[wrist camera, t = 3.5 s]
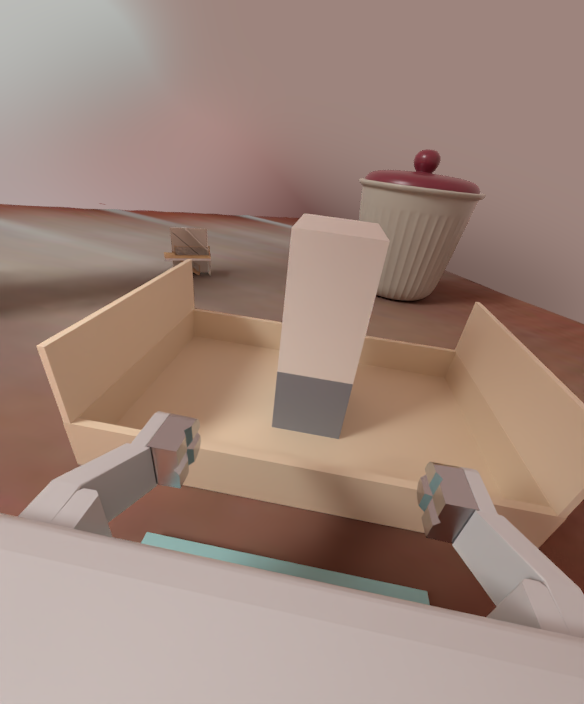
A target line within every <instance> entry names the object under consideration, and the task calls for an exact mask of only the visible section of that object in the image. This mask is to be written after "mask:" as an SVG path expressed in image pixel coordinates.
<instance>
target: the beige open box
mask: <svg viewBox="0 0 584 704" xmlns="http://www.w3.org/2000/svg"><path fill="white" fill-rule="evenodd" d="M281 330H282V322H278V321H271V320H265V319H259V318H253V317H246V316H240V315H234V314H228V313H221V312H215V311H209V310H203V309H196V308H195V307H194V289H193V272H192V259H187V260H185V261H183V262H182V263H180V264H178V265H176V266H175V267H173V268H171V269H169V270H168V271H166V272H164V273H162V274H161V275H159V276H157V277H155V278H154V279H152V280H150V281H148V282H147V283H145V284H143V285H141V286H140V287H138V288H136V289H134V290H133V291H131V292H129V293H127V294H126V295H124V296H122V297H121V298H119V299H117V300H115V301H114V302H112V303H110V304H108V305H107V306H105V307H103V308H101V309H100V310H98V311H96V312H94V313H93V314H91V315H89V316H87V317H86V318H84V319H82V320H80V321H79V322H77V323H75V324H73V325H72V326H70V327H68V328H66V329H65V330H63V331H61V332H60V333H58V334H56V335H54V336H53V337H51V338H49V339H47V340H46V341H44V342H42V343H40V344H39V345H37V349H38V352H39V355H40V358H41V360H42V363H43V366H44V369H45V372H46V374H47V377H48V380H49V383H50V386H51V388H52V391H53V394H54V397H55V400H56V402H57V405H58V408H59V411H60V413H61V416H62V419H63V424H64V427H65V430H66V432H67V435H68V438H69V441H70V444H71V446H72V449H73V452H74V455H75V457H76V460H77V463H78V464H80V465H84V464H86V463H88V462H90V461H92V460H94V459H96V458H98V457H100V456H102V455H104V454H106V453H108V452H110V451H112V450H114V449H116V448H118V447H120V446H122V445H124V444H126V443H129V444H131V443H132V441H133V440H134V439H135V438H136V436H137V435H138V434H139V432H140V431H141V430H142V429H143V427H144V426H145V425H146V423H147V422H148V421H149V420H150V418H151V417H152V416H153V415H154V413H156V412H158V411H161V412H165V413H170V414H176V415H181V416H186V417H190V418H195V419H198V420H199V421H200V428H199V430H198V433H199V435H200V436H201V444H200V449H199V452H198V455H197V458H196V460H195V462H193V463H192V464H190V465H189V473H188V475H187V477H186V479H185V481H184V483H183V485H186V486H191V487H196V488H201V489H206V490H211V491H216V492H221V493H226V494H231V495H236V496H241V497H246V498H251V499H256V500H261V501H266V502H271V503H276V504H281V505H286V506H291V507H296V508H301V509H306V510H311V511H316V512H321V513H326V514H331V515H336V516H341V517H346V518H351V519H356V520H361V521H366V522H371V523H376V524H381V525H386V526H391V527H396V528H401V529H406V530H411V531H416V532H421V533H425V532H424V527H423V523H422V519H421V518H422V516H423V514H424V511H423V510H422V509H421V508H420V507H419V505H418V500H417V486H418V482H419V480H420V478H421V477H422V476H424V475H426V472H425V467H426V465H427V464H428V463H429V462H435V463H441V464H447V465H452V466H458V467H464V468H469V469H475V470H477V471H478V472H479V474H480V476H481V478H482V480H483V483H484V485H485V487H486V489H487V491H488V494H489V496H490V498H491V500H492V502H493V505H494V507H495V509H496V511H497V513H498V515H502V516H504V517H505V518H506V519H507V520H508V521H509V522H510V523H511V524H512V525H513V526H514V527H515V528H517V529H518V530H519V531H520V532H521V533H522V534H523V535H524V536H525V537H526V538H527V539H528V540H529V541H530V542H531V543H532V544H534V545H535V546H536V547H537V548H539V547H540V546H541V545H542V544H543V543H544V542H545V541H546V540H547V539H548V538H549V537H550V536H551V534H552V533H553V532H554V531H555V530H556V529H557V528H558V527H559V526H560V525H561V524H562V523H563V522H564V521H565V520H566V519H567V518H566V517H567V516H568V515H569V514H570V513H571V512H572V511H573V510H574V509H575V508H576V507H577V506H578V505H579V504H580V503H581V502H582V500H583V499H584V403H583V402H582V401H581V400H580V399H579V398H578V397H577V396H576V395H575V394H573V393H572V392H571V391H570V390H569V389H568V388H567V387H566V386H565V385H564V384H563V383H562V382H561V381H560V380H559V379H558V378H557V377H556V376H555V375H554V374H553V373H552V372H551V371H550V370H549V369H548V368H547V367H546V366H545V365H544V364H543V363H542V362H541V361H540V360H539V359H538V358H537V357H536V356H535V355H533V354H532V353H531V352H530V351H529V350H528V349H527V348H526V347H525V346H524V345H523V344H522V343H521V342H520V341H519V340H518V339H517V338H516V337H515V336H514V335H513V334H512V333H511V332H510V331H509V330H508V329H507V328H506V327H505V326H504V325H503V324H502V323H501V322H500V321H499V320H498V319H497V318H496V317H495V316H494V315H492V314H491V313H490V312H489V311H488V310H487V309H486V308H485V307H484V306H483V305H482V304H481V303H480V302H475V304H474V307H473V309H472V311H471V314H470V316H469V318H468V321H467V323H466V325H465V328H464V330H463V332H462V334H461V337H460V339H459V341H458V344H457V346H456V348H455V350H453V349H447V348H440V347H434V346H428V345H422V344H415V343H409V342H403V341H396V340H390V339H384V338H378V337H371V336H365V340H364V344H363V347H362V351H361V355H360V359H359V363H358V367H357V371H356V375H355V379H354V382H353V386H352V390H351V394H350V398H349V402H348V406H347V410H346V414H345V417H344V421H343V425H342V429H341V433H340V437H339V439H335V438H329V437H324V436H318V435H313V434H307V433H302V432H297V431H291V430H286V429H280V428H275V427H272V419H273V409H274V399H275V390H276V380H277V370H278V360H279V350H280V340H281Z"/></svg>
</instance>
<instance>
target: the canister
mask: <svg viewBox="0 0 584 704" xmlns="http://www.w3.org/2000/svg"><path fill="white" fill-rule="evenodd" d="M439 163H440V155H439V153H438V152H437V151H434V150H422V151H420V152H419V153H418V154H417V155H416V157H415V159H414V167H415V169H416V172H412V171H399V170H378V171H373V172H371V173H369V174H368V175H367V176H366V178H361V179H360V180H359V181H360V183H361V184H362V185H363V187H362V197H361V206H360V216H359V221H364V222H371V223H378V224H379V225H380V227H381V228H382V230H383V231H384V233H385V234H386V236H387V237H388V239H389V241H390V242H389V246H388V250H387V254H386V258H385V262H384V266H383V270H382V274H381V277H380V281H379V285H378V289H377V293H376V295H378V296H381V297H385V298H389V299H395V300H402V301H404V300H405V301H414V300H419V299H423V298H425V297H427V296H428V295H429V294H430V293H431V292H432V291H433V290H434V289H435V287H436V286H437V284H438V282H439V280H440V278H441V276H442V274H443V272H444V270H445V269H446V266H447V265H448V263H449V261H450V258H451V257H452V255H453V253H454V251H455V249H456V246H457V244H458V242H459V240H460V238H461V236H462V234H463V232H464V230H465V228H466V226H467V224H468V222H469V220H470V217H471V215H472V213H473V211H474V209H475V207H476V205H477V203H478V201H479V200H482V199H484V198H485V195H484V194H480V190H479V188H478V186H477V185H476V184H474V183H472V182H470V181H466V180H462V179H459V178H454V177H449V176H443V175H436V174H432V172H433V171H435V169H436V168H437V167H438V165H439Z"/></svg>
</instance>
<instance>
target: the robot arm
mask: <svg viewBox="0 0 584 704" xmlns="http://www.w3.org/2000/svg"><path fill="white" fill-rule="evenodd" d="M199 428H200V421H199V420H198V419H195V418H190V417H186V416H181V415H176V414H170V413H165V412H161V411H158V412H156V413H154V415H153V416H152V417H151V418H150V420H149V421H148V422H147V423H146V425H145V426H144V427H143V429H142V430H141V431H140V432H139V434H138V435H137V436H136V438H135V439H134V440H133V441H132V443H131V444H129V443H126V444H124V445H122V446H120V447H118V448H116V449H114V450H112V451H110V452H108V453H106V454H104V455H102V456H100V457H98V458H96V459H94V460H92V461H90V462H88V463H86V464H84V465H82V466H80V467H78V468H75V469H73V470H71V471H69V472H67V473H65V474H63V475H61V476H59V477H57V478H55V479H53V480H52V481H51V482H50V483H49V484H48V485H47V486H46V487H45V488H44V489H43V490H42V491H41V493H40V494H39V495H38V496H37V497H36V498H35V499H34V500H33V501H32V502H31V503H30V504H29V505H28V506H27V507H26V508H25V509H24V511H23V512H22V513H21V514H20V515H19V516H18V517H17V516H12V515H7V514H3V513H0V704H584V594H583V592H582V591H581V589H580V588H579V587H578V586H577V585H576V584H575V583H574V582H573V581H572V580H571V579H570V578H569V577H567V576H566V575H565V574H564V573H563V572H562V571H561V570H560V569H559V568H558V567H557V566H556V565H555V564H554V563H553V562H552V561H550V560H549V559H548V558H547V557H546V556H545V555H544V554H543V553H542V552H541V551H540V550H539V549H538V548H537V547H536V546H535V545H534V544H532V543H531V542H530V541H529V540H528V539H527V538H526V537H525V536H524V535H523V534H522V533H521V532H520V531H519V530H518V529H517V528H515V527H514V526H513V525H512V524H511V523H510V522H509V521H508V520H507V519H506V518H505V517H504V516H502V515H498V513H497V511H496V509H495V507H494V505H493V502H492V500H491V498H490V496H489V494H488V491H487V489H486V487H485V485H484V483H483V480H482V478H481V476H480V474H479V472H478V471H477V470H475V469H469V468H464V467H458V466H452V465H447V464H441V463H435V462H429V463H428V464H427V465H426V467H425V472H426V475H424V476H422V477H421V478H420V480H419V482H418V486H417V500H418V505H419V507H420V508H421V509H422V510H423V511H424V514H423V516H422V518H421V519H422V523H423V527H424V532H425V536H426V538H430V539H434V540H439V541H443V542H447V543H452V545H453V547H454V548H455V550H456V551H457V552H458V554H459V555H460V557H461V558H462V559H463V561H464V562H465V564H466V565H467V566H468V568H469V569H470V570H471V572H472V573H473V575H474V576H475V577H476V579H477V580H478V582H479V583H480V584H481V586H482V587H483V589H484V590H485V591H486V593H487V594H488V595H489V597H490V598H491V600H492V601H493V602H494V604H495V605H496V608H495V609H494V610H493V611H492V612H491V613H490V614H489V615H488V616H487V617H482V616H478V615H473V614H468V613H464V612H459V611H454V610H450V609H445V608H440V607H436V606H431V605H426V604H422V603H417V602H412V601H408V600H403V599H398V598H394V597H389V596H384V595H380V594H375V593H371V592H366V591H361V590H357V589H352V588H347V587H343V586H338V585H333V584H329V583H324V582H319V581H315V580H310V579H305V578H301V577H296V576H291V575H287V574H282V573H277V572H273V571H268V570H263V569H259V568H254V567H249V566H244V565H240V564H235V563H230V562H226V561H221V560H217V559H212V558H207V557H203V556H198V555H193V554H189V553H184V552H179V551H175V550H170V549H165V548H161V547H156V546H151V545H147V544H142V543H137V542H133V541H128V540H123V539H119V538H114V537H112V534H111V531H110V528H109V525H108V522H110V521H111V520H112V519H114V518H115V517H116V516H118V515H119V514H120V513H122V512H123V511H124V510H125V509H127V508H128V507H129V506H131V505H132V504H133V503H135V502H136V501H137V500H139V499H140V498H141V497H143V496H144V495H145V494H147V493H148V492H149V491H150V490H152V489H153V488H154V487H156V486H157V484H158V485H164V486H170V487H176V488H181V487H182V485H183V483H184V481H185V479H186V477H187V475H188V473H189V465H190V464H192V463H193V462H195V460H196V458H197V455H198V452H199V449H200V444H201V436H200V435H199V433H198V430H199Z"/></svg>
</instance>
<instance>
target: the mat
mask: <svg viewBox="0 0 584 704" xmlns="http://www.w3.org/2000/svg"><path fill="white" fill-rule="evenodd" d="M141 543H142V544H147V545H151V546H156V547H161V548H165V549H170V550H175V551H179V552H184V553H189V554H193V555H198V556H203V557H207V558H212V559H217V560H221V561H226V562H230V563H235V564H240V565H244V566H249V567H254V568H259V569H263V570H268V571H273V572H277V573H282V574H287V575H291V576H296V577H301V578H305V579H310V580H315V581H319V582H324V583H329V584H333V585H338V586H343V587H347V588H352V589H357V590H361V591H366V592H371V593H375V594H380V595H384V596H389V597H394V598H398V599H403V600H408V601H412V602H417V603H422V604H426V605H430V604H429V599H428V593H427V591H424V590H419V589H414V588H409V587H405V586H400V585H395V584H391V583H386V582H381V581H376V580H372V579H367V578H362V577H357V576H353V575H348V574H343V573H338V572H334V571H329V570H324V569H320V568H315V567H310V566H305V565H301V564H296V563H291V562H286V561H282V560H277V559H272V558H268V557H263V556H258V555H253V554H249V553H244V552H239V551H234V550H230V549H225V548H220V547H215V546H211V545H206V544H201V543H197V542H192V541H187V540H182V539H178V538H173V537H168V536H163V535H159V534H154V533H149V532H147V533H146V535H145V537H144V539H143V540H142V542H141Z"/></svg>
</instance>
